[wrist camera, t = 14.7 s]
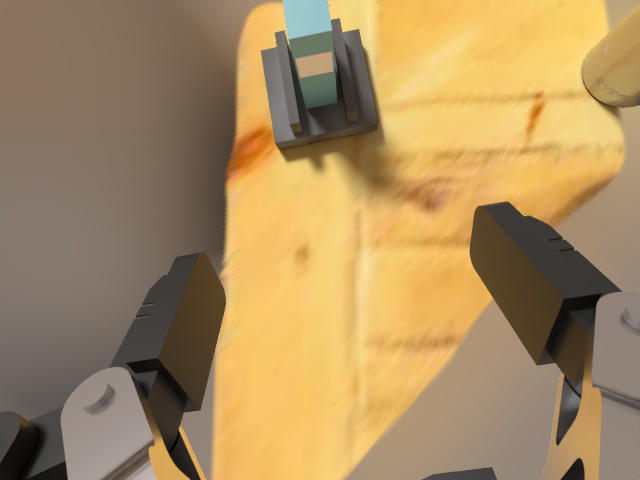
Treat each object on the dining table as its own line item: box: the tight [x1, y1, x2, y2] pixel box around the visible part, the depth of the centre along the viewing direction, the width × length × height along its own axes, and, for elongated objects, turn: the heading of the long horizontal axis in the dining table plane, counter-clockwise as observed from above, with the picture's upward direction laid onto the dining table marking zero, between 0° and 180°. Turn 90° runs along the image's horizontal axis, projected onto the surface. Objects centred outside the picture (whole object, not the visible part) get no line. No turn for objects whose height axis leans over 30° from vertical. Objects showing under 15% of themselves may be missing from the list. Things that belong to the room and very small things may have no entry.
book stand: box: [261, 18, 378, 149], centre depth 41 cm, size 13×13×5 cm
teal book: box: [283, 0, 337, 109], centre depth 35 cm, size 4×6×12 cm
